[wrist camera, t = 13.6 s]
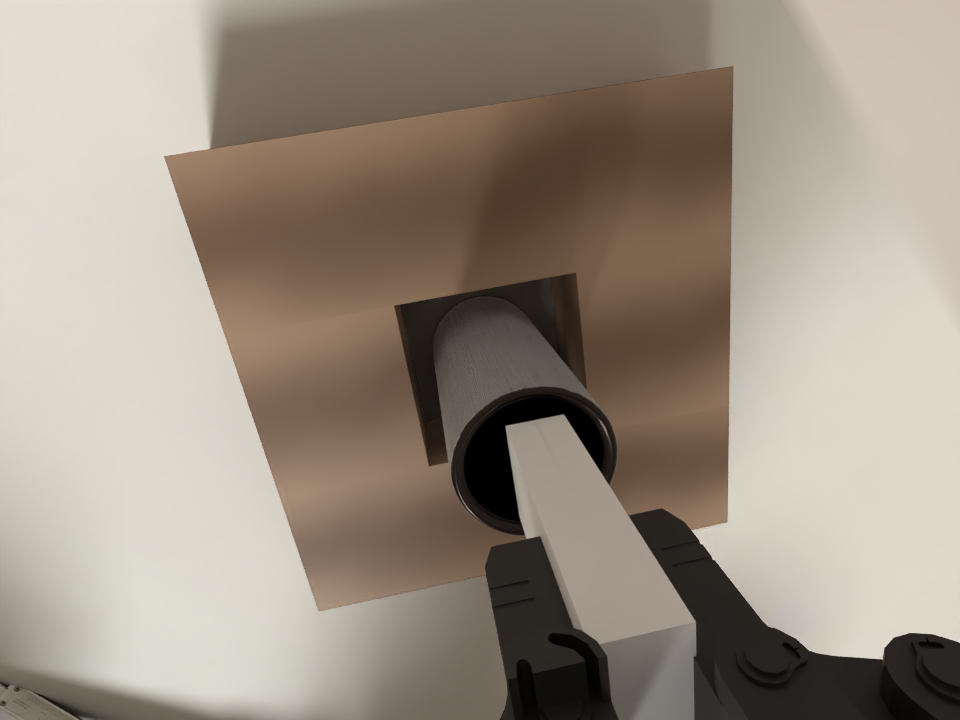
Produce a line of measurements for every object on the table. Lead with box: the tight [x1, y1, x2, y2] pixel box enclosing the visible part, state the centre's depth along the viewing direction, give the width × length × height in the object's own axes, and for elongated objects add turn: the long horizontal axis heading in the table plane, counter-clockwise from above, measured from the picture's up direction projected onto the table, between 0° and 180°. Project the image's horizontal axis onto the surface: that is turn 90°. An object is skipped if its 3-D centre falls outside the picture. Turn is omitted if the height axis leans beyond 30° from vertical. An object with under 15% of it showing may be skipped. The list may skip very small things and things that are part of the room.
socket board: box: [164, 66, 733, 611], centre depth 22 cm, size 18×18×4 cm
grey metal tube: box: [433, 296, 618, 536], centre depth 19 cm, size 4×4×10 cm
